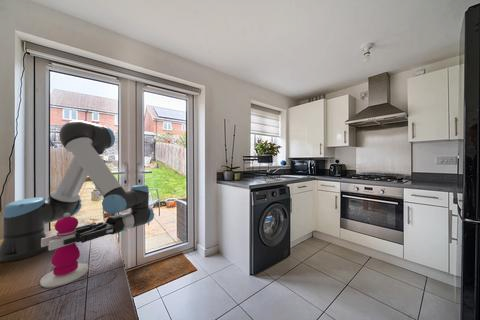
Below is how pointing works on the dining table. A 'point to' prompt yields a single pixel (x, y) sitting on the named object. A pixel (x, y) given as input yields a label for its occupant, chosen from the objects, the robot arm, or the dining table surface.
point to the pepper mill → (65, 247)
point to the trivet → (63, 277)
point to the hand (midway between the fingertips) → (45, 244)
